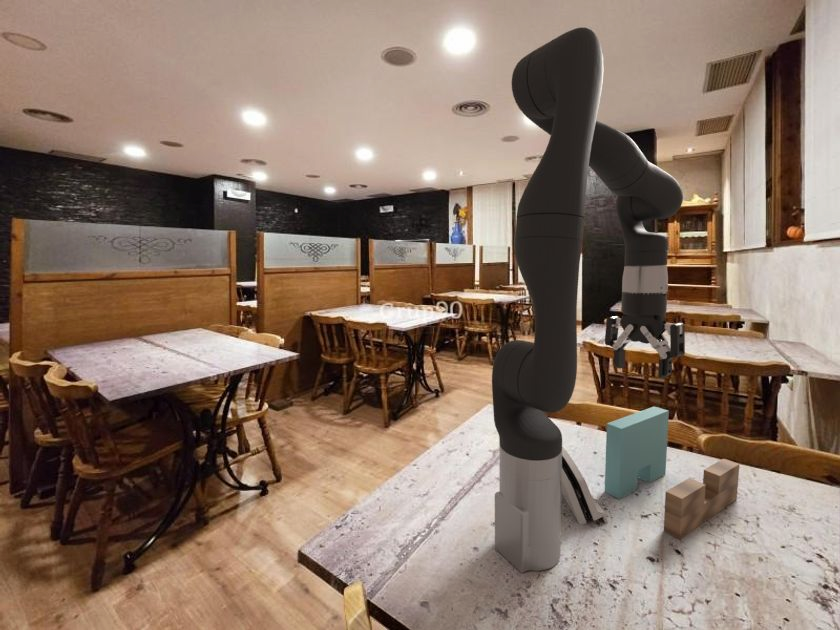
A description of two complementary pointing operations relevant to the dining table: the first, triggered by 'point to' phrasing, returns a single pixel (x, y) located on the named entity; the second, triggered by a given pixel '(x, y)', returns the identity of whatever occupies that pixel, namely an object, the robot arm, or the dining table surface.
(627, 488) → the teal plate
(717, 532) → the dining table surface
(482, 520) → the dining table surface
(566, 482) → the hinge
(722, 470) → the notched wooden block
